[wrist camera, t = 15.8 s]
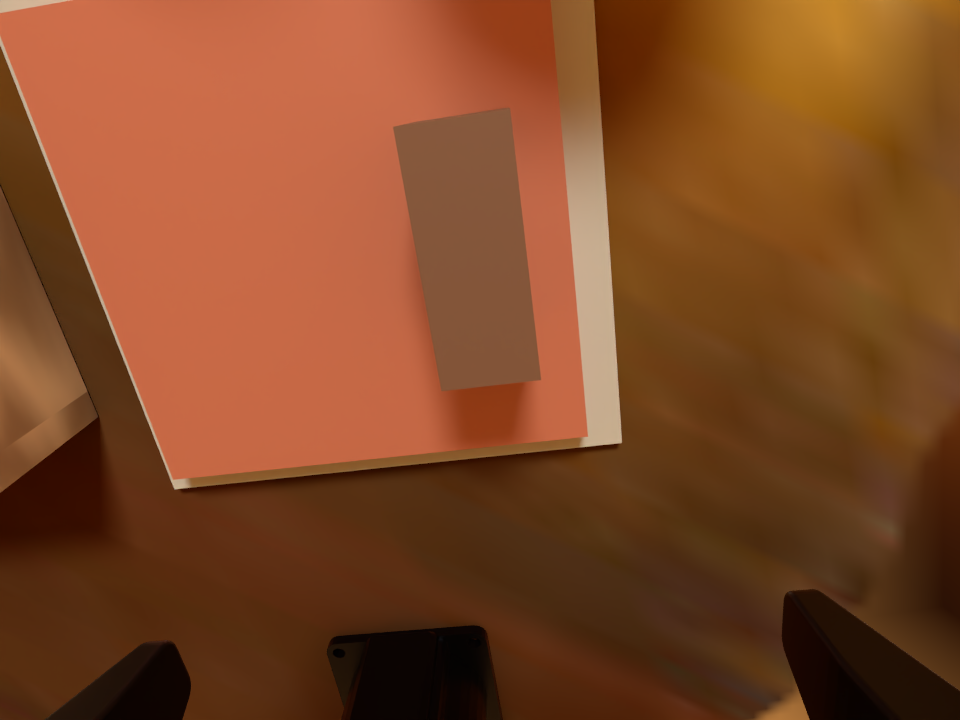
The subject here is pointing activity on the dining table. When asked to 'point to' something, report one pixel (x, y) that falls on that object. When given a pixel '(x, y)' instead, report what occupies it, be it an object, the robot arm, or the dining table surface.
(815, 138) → the dining table surface
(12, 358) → the toolbox
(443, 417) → the lid
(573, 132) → the mat
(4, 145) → the dining table surface
